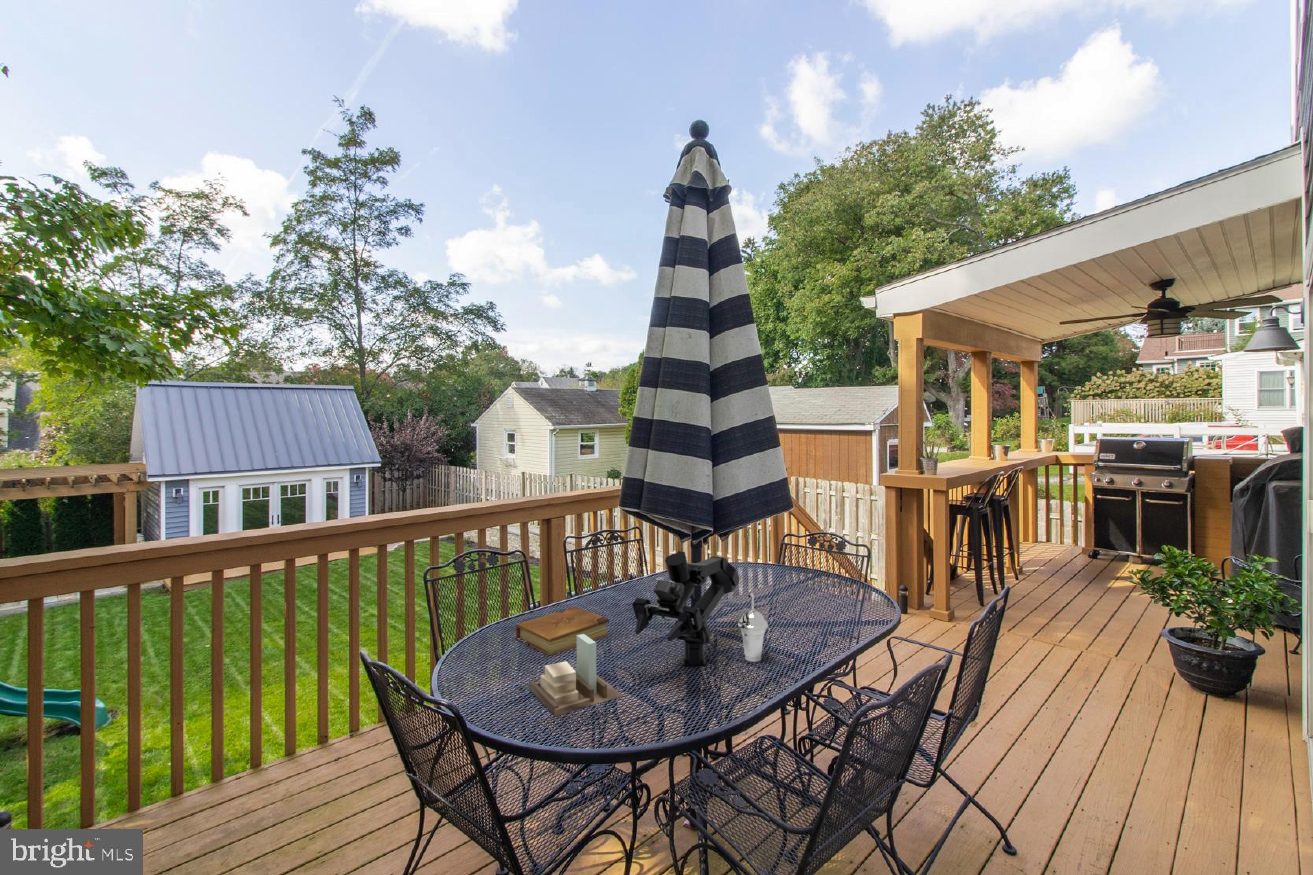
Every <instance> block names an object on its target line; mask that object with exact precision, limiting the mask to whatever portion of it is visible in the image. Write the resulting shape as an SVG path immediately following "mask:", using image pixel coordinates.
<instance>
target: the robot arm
mask: <svg viewBox="0 0 1313 875" xmlns="http://www.w3.org/2000/svg"><path fill="white" fill-rule="evenodd" d="M687 560H688V559H687V556H686V552H685V551H683V550H682V551H681V550H677V552H675V553H672V554H669V555H668V556H666V557H665V560H664V562H665V566H666V571H667V574H668V579H669V580H668V581H667V580H661V579H658V580H657V582H656V585H655V587H654V590H653V593H654V594H656V596H657V599H656V603H657V604H658V605H653V604H652V603H651V601H650V599H646V598H641V597H636V598H635V599H634V600H633V602H632V608H633V611H634V616H635V619H636V620H637V623H636V628H635V634H636V635H637V636H638V635H640V634H641V633H642V632H643V631H644V630H645V629H646V628H647V627H648V626H649V625H650V621H651V620H652V619H653V617H654V616H659V617H661V618H662V619H665V620H669V621H670V620H672V621H675V622H674V626H673V627H672V629H671V630H670V632H669V633H668V634H669V635H668V636H667V642H672V641H674V640H675V639H676V640H678V641H683V654H681V660H682V665H683V666H706V665H707V661H706V657H705V654H704V653H705V649H704V648H705V647H704V645H706V644H710V641H711V637H712V631H711V630H710V628H709V626H708V625H707V624H708V623H707V619H709V616H710V615H711V614H712V612H713V611H714V609H716V607H717V605H718V604H719V603H720V601H721V599H722V598H723V597H724V595H728V594H730V593H732V592H733V591H734V590H735V589H736V588H737V587H738V586H739V582H740V577H739V574H738V571H737V569H736V568H735V567H734V566H732V564H731V563H729V561H728V559H727V558H725V557H724V556H715V555H713V556H710V557H709V558H706V559H704V560H702V561H699V562H696V563H695V562H694V563H693V562H688V561H687ZM707 578H709V580H710V585H709V586H708V588H707V589H706V590H705V592H704V593H703V594H702V595H701V597H700V598H699V600H698V601H697V603H696V604H694V606H688V605H687V604H688V601H690V599H691V600H694V599H695V586H700V587H701V586H703V585H704V584H705V583H706V582H707V581H708V580H707ZM653 615H654V616H653Z"/></svg>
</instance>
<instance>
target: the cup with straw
mask: <svg viewBox="0 0 1313 875" xmlns="http://www.w3.org/2000/svg"><path fill="white" fill-rule="evenodd" d="M754 597H755V596H754V593H753V592H751V593H750V594H748V598H751V600H750V601H751V603H750V604H751V607H750V608H751V609H750V610H748V611H745V612H744V613H743V614H742V616H741V617H740V619H739V620H738V623H737V625H738V627H739V628H740V631H741V635H742V644H743V652H744V653H743V654H744V656H745V657H744V659H745V660H746V661H748V662H753V663H755V662H760V661H761V660H762V652H763V645H764V636H765V632H766V629H767V628H768V627H769V624H768V622H767V621H766V620H765V617H764V616H763V614H762V612H759V611H758V610H755V608H754V607H755V602H754V601H755V598H754Z"/></svg>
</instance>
